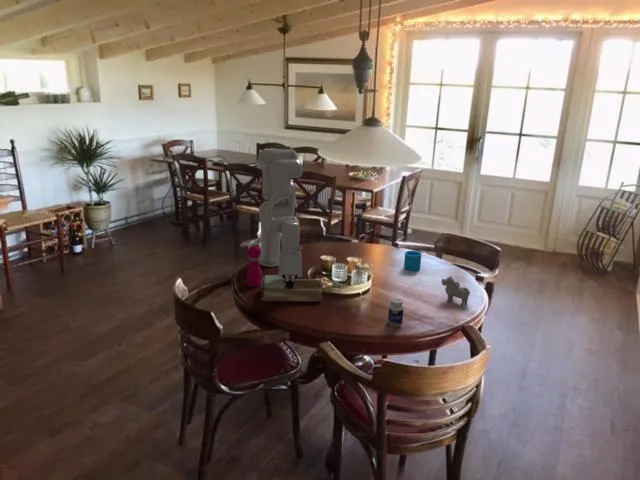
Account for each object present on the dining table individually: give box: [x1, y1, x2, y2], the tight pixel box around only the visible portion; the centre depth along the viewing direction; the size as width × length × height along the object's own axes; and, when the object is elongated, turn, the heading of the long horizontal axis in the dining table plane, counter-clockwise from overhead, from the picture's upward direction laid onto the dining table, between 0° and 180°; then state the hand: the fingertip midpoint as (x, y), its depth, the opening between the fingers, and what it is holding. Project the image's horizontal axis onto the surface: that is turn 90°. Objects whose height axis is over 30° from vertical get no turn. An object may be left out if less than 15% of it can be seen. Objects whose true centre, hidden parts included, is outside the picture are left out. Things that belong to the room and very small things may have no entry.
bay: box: [260, 276, 323, 302], centre depth 230 cm, size 12×26×6 cm, turn 93°
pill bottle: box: [387, 297, 404, 327], centre depth 207 cm, size 6×6×10 cm
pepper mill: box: [246, 242, 264, 288], centre depth 239 cm, size 7×7×20 cm
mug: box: [403, 250, 422, 272], centre depth 267 cm, size 12×8×8 cm
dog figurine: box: [441, 276, 471, 307], centre depth 229 cm, size 5×13×11 cm, turn 54°
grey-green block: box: [264, 274, 284, 289], centre depth 229 cm, size 9×8×6 cm
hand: (289, 288), depth 230 cm, fingers closed
